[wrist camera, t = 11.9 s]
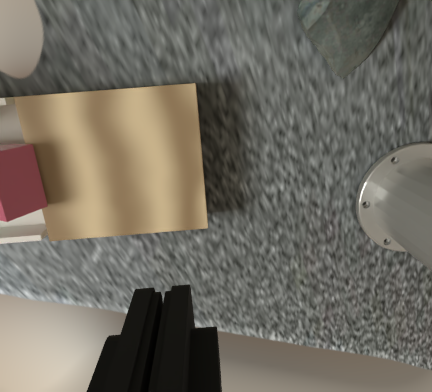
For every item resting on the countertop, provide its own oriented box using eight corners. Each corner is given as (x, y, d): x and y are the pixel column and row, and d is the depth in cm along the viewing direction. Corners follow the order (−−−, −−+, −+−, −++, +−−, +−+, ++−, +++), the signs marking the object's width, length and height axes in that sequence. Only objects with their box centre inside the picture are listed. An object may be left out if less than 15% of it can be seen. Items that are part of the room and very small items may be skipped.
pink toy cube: (32, 144, 31) (-13, 153, 28) (47, 206, 33) (6, 222, 30) (-6, 142, 34) (-51, 151, 30) (10, 200, 36) (-31, 213, 32)
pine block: (196, 83, 34) (195, 83, 30) (207, 213, 39) (207, 228, 35) (34, 95, 34) (13, 97, 30) (64, 225, 38) (49, 241, 35)
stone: (419, 1, 34) (378, -101, 28) (448, 6, 30) (408, -108, 25) (328, 78, 37) (276, -2, 31) (346, 89, 33) (292, 3, 28)
